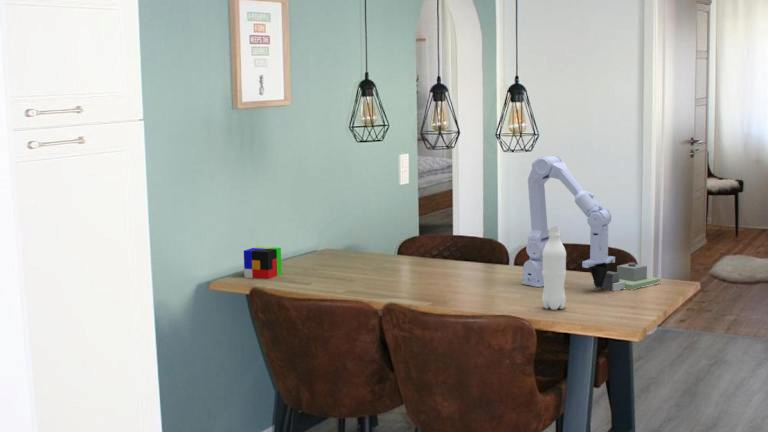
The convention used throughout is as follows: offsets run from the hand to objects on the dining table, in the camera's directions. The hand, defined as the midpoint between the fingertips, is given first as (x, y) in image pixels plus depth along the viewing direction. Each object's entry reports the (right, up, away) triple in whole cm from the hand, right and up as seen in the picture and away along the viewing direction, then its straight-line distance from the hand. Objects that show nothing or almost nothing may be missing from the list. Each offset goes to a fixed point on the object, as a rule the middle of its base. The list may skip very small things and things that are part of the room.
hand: (598, 286), depth 315 cm
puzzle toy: (-115, +1, +37) cm, 121 cm away
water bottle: (-19, -5, -24) cm, 31 cm away
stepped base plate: (+11, 0, +8) cm, 13 cm away
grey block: (+4, -1, +4) cm, 6 cm away
